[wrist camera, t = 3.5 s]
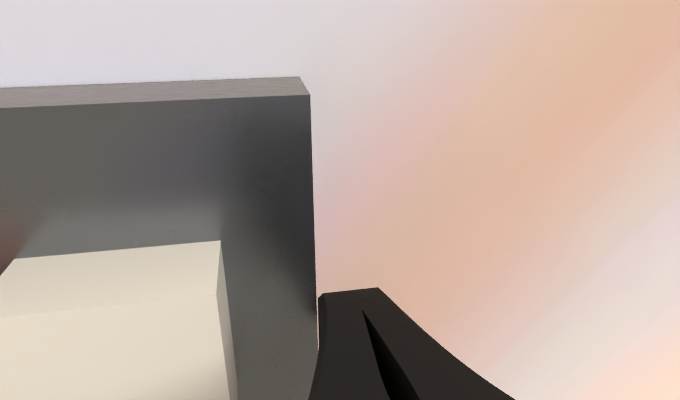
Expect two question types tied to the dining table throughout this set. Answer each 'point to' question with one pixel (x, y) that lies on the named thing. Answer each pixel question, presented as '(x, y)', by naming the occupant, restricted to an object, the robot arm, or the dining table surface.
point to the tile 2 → (118, 326)
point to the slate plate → (178, 197)
